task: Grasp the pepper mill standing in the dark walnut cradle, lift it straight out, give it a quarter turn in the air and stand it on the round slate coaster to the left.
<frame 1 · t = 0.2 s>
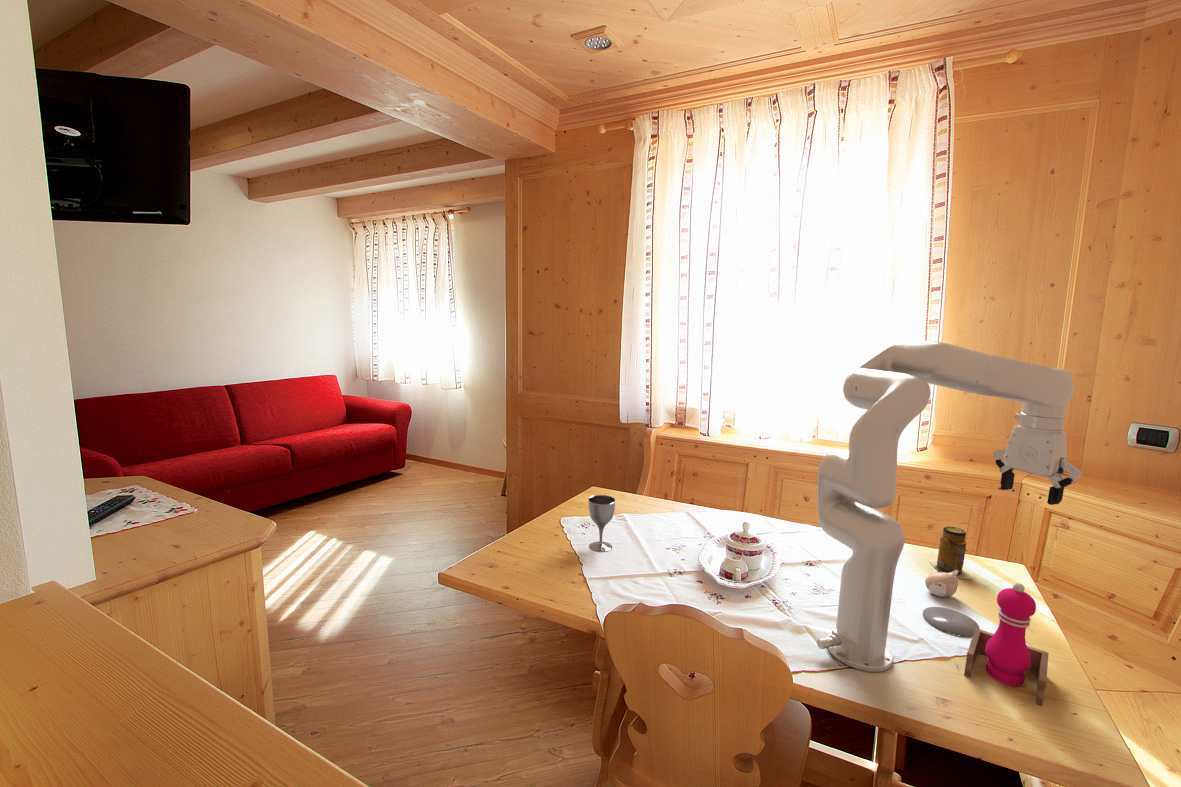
hand: (1029, 496, 120), 31 cm above the table, tool pointing down, fingers open, 9 cm apart
beige plush toy: (939, 595, 136), on the table
wine glass: (600, 547, 159), on the table
pepper mill: (1004, 676, 106), on the table
condiment: (949, 571, 149), on the table
coaster: (950, 622, 124), on the table
cradle: (1004, 675, 106), on the table
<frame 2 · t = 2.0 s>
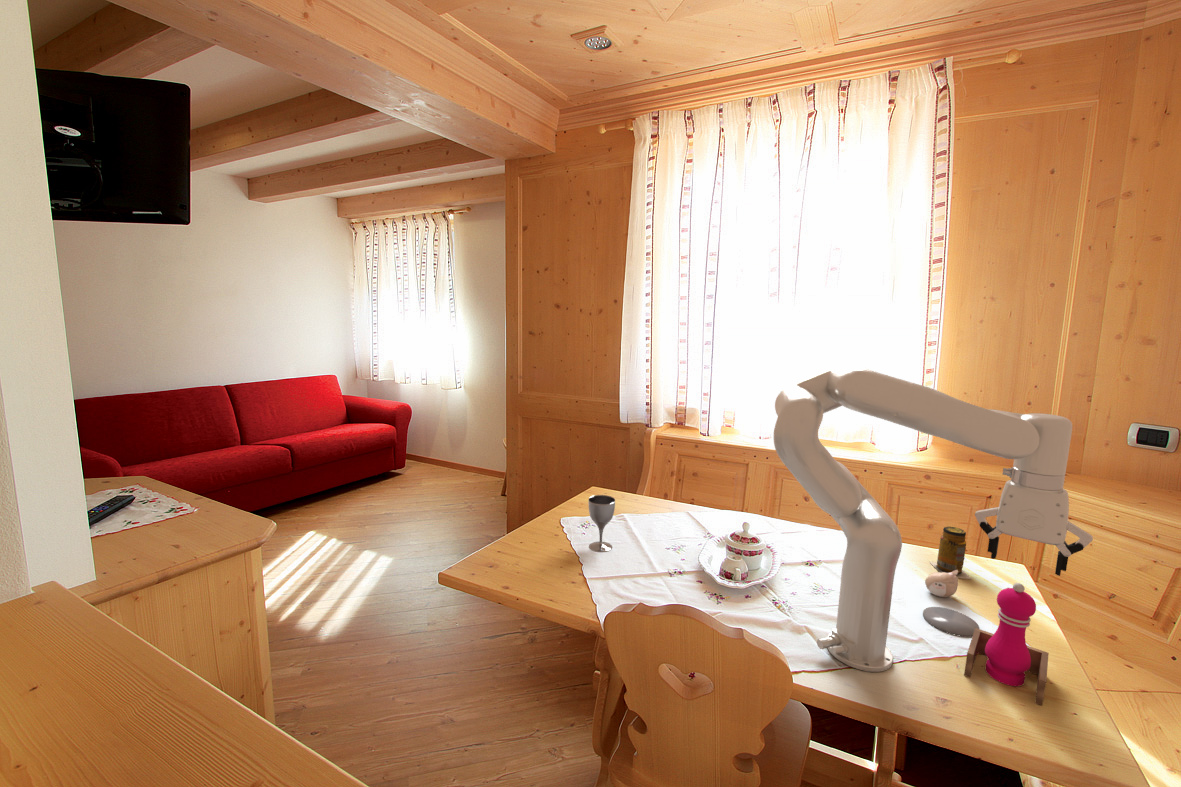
hand: (1024, 564, 102), 24 cm above the table, tool pointing down, fingers open, 9 cm apart
nothing on the table moved.
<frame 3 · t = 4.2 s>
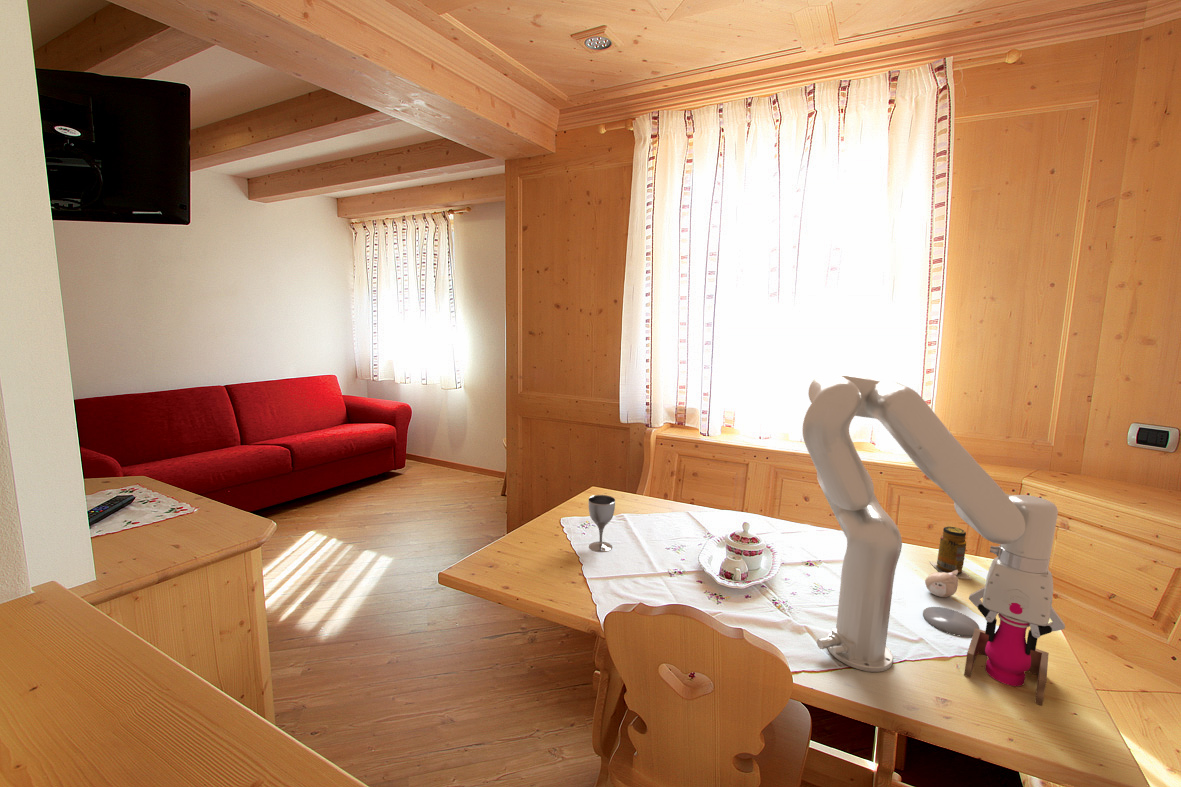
hand: (1009, 644, 105), 7 cm above the table, tool pointing down, fingers closed on pepper mill, 5 cm apart
pepper mill: (1004, 676, 106), on the table, touching gripper
everything else where it was.
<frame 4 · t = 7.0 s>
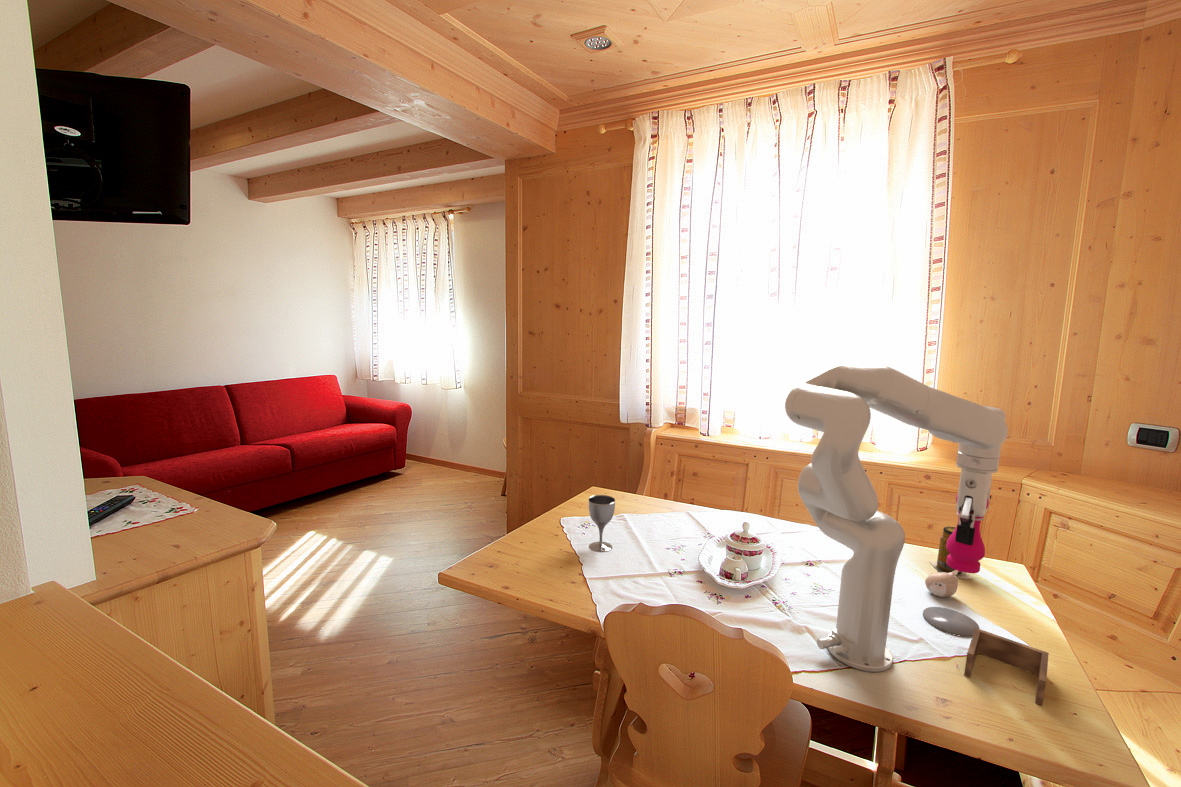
hand: (966, 538, 119), 22 cm above the table, tool pointing down, fingers closed on pepper mill, 5 cm apart
pepper mill: (962, 567, 120), point 14 cm above the table, touching gripper
everything else where it was.
when the fingers open (9 cm above the table, at t = 9.9 s): pepper mill drops 1 cm, resting on coaster.
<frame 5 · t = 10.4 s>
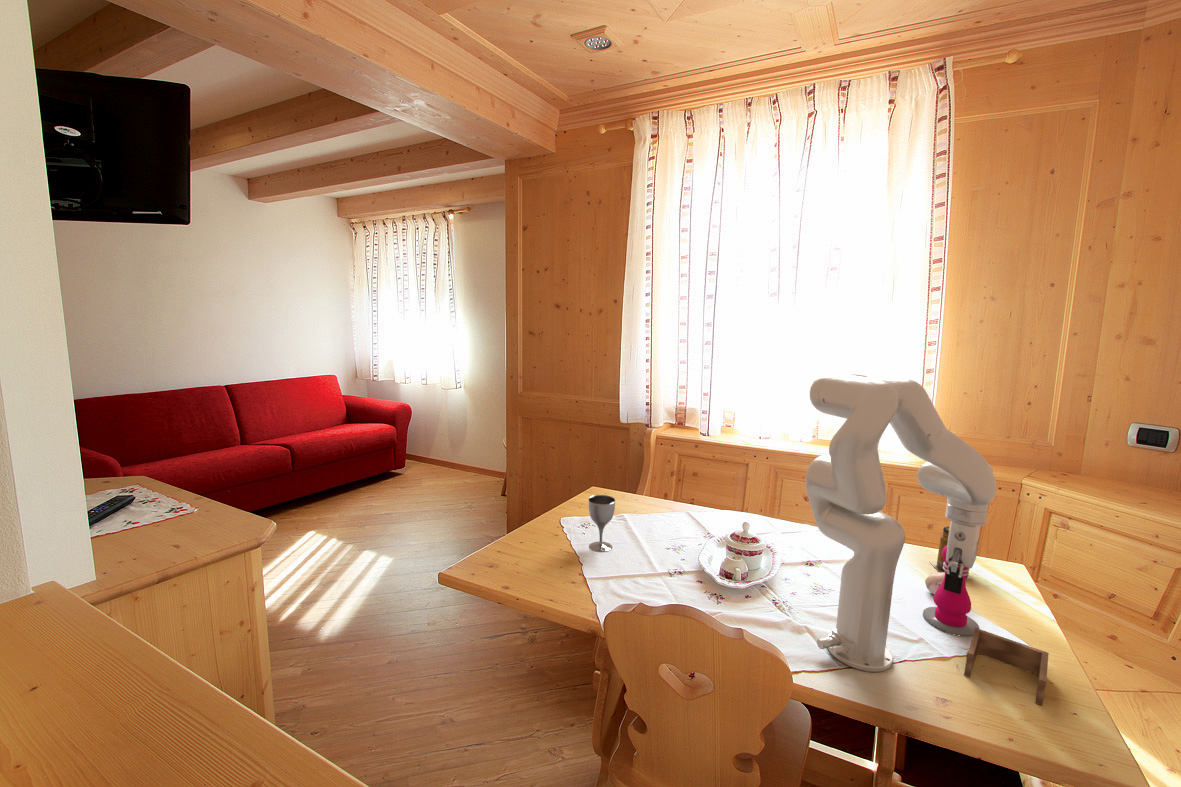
hand: (955, 583, 122), 10 cm above the table, tool pointing down, fingers open, 9 cm apart
pepper mill: (950, 620, 124), resting on coaster
everything else where it was.
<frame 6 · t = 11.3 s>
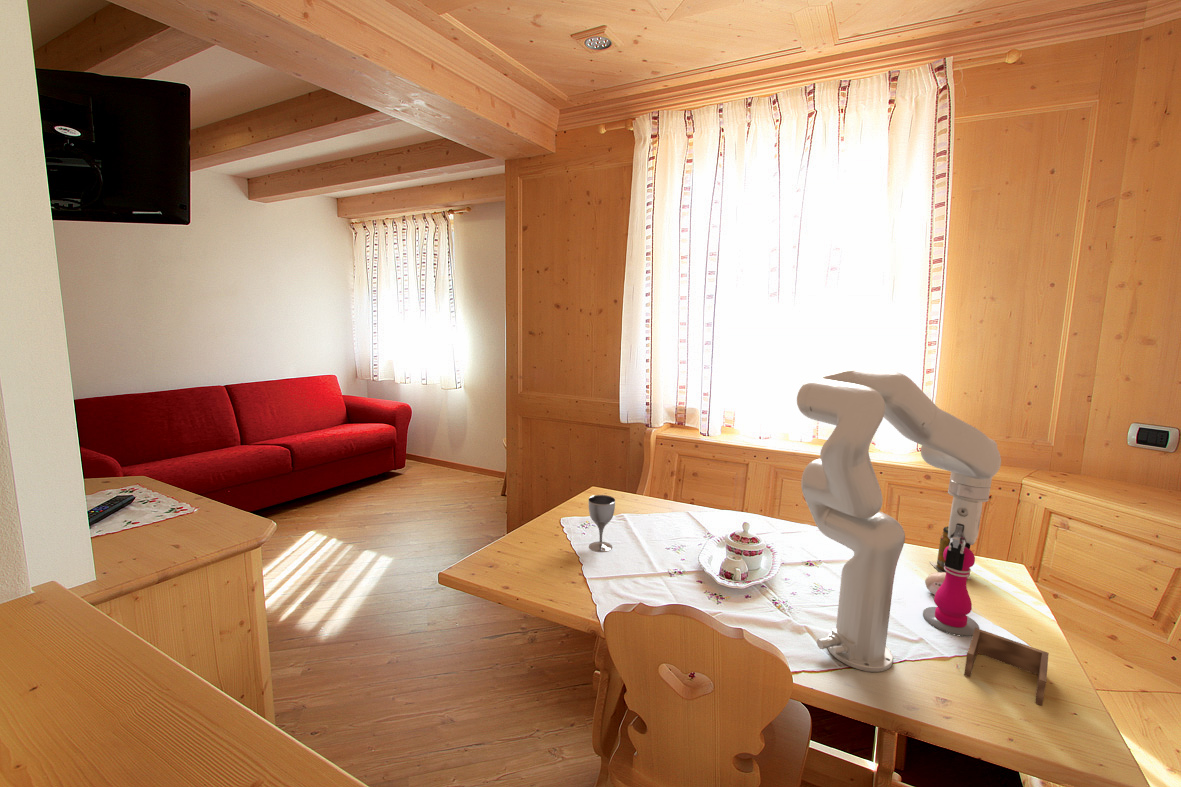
hand: (956, 561, 121), 15 cm above the table, tool pointing down, fingers open, 9 cm apart
nothing on the table moved.
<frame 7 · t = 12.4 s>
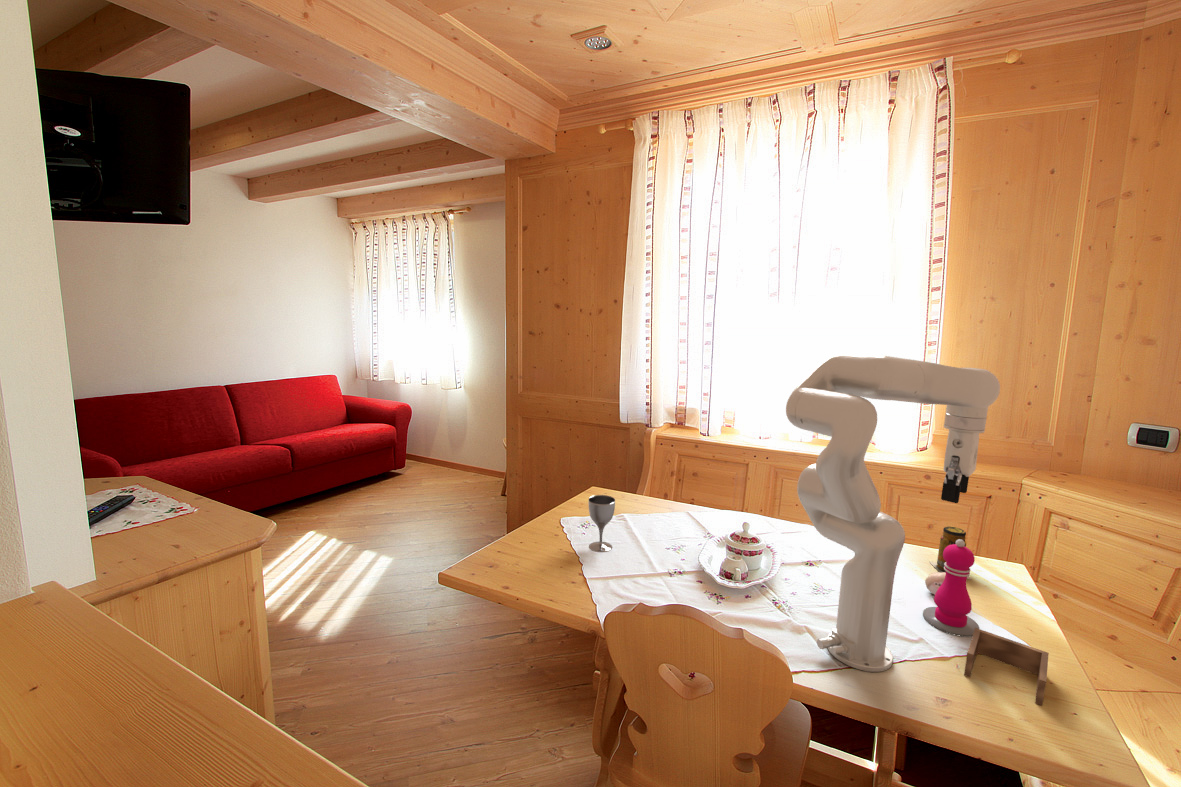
hand: (953, 496, 120), 30 cm above the table, tool pointing down, fingers open, 9 cm apart
nothing on the table moved.
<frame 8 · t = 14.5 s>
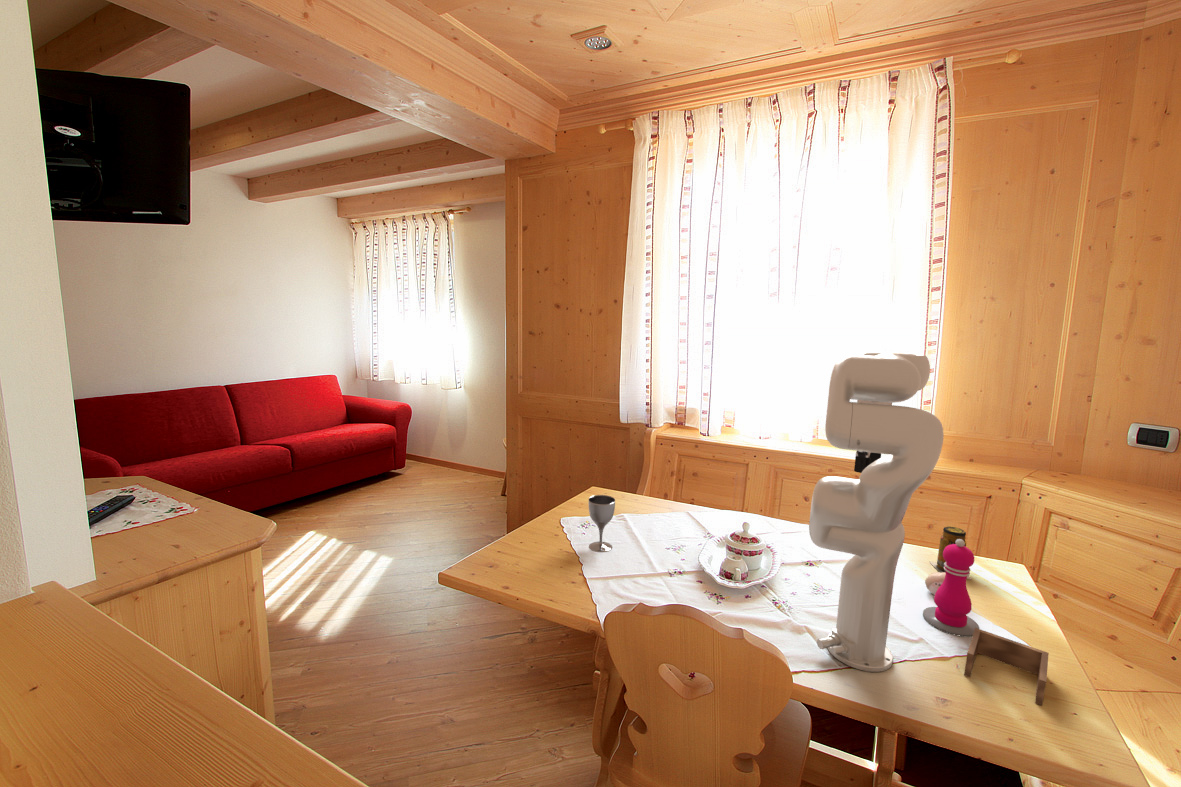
hand: (867, 468, 131), 33 cm above the table, tool pointing down, fingers open, 9 cm apart
nothing on the table moved.
at the end: pepper mill 0.1 cm from the coaster (horizontally); pepper mill tilted 1°; the gripper is holding nothing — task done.
